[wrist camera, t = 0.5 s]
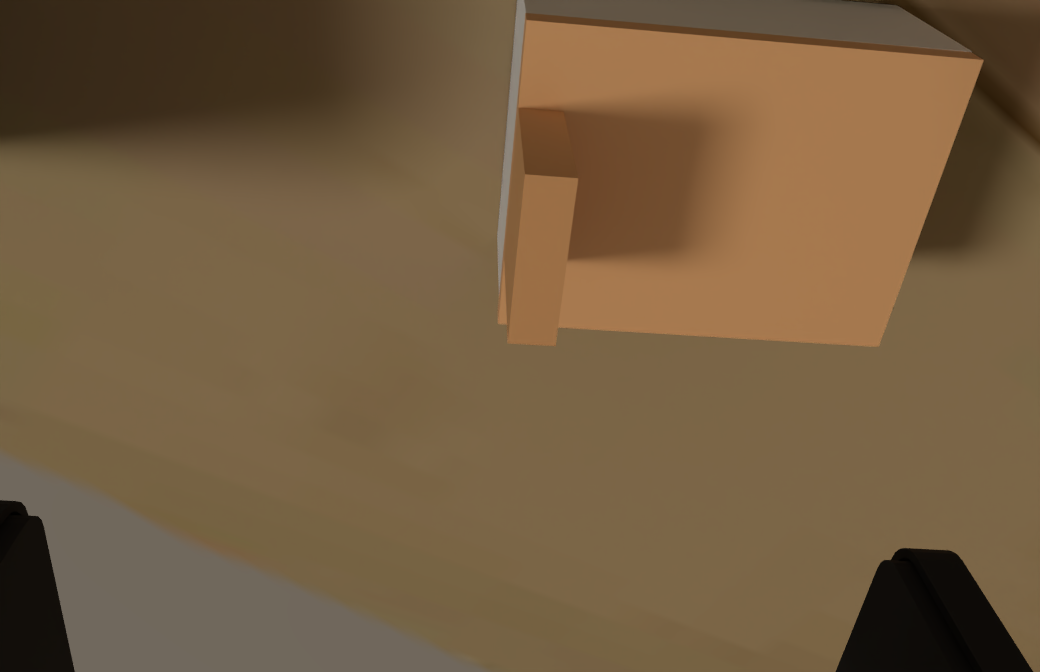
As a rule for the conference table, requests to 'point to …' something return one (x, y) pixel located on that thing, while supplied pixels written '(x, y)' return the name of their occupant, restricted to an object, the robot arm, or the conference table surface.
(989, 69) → the conference table surface
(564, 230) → the lid
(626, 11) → the tub
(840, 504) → the conference table surface
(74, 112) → the conference table surface
